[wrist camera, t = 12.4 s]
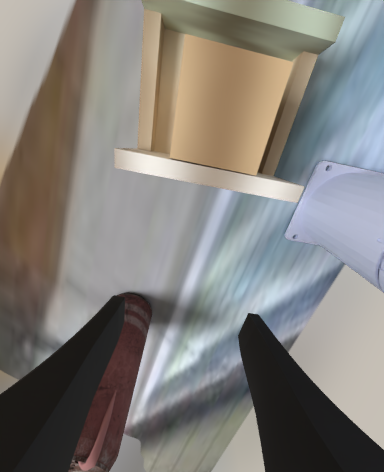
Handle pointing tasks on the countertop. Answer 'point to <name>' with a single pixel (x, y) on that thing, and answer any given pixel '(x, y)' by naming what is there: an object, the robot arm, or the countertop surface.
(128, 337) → the can
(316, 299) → the countertop surface
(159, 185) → the countertop surface
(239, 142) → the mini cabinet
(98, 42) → the countertop surface
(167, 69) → the wooden cubby shelf
